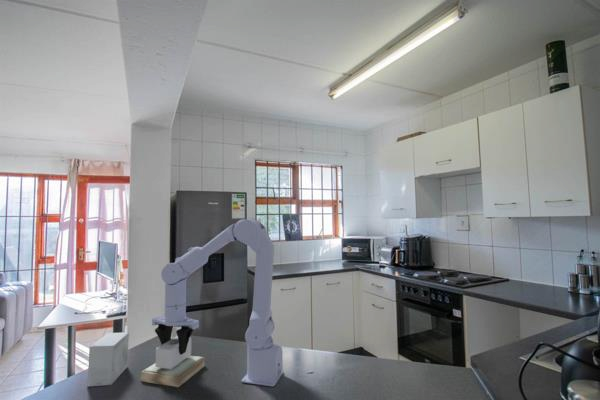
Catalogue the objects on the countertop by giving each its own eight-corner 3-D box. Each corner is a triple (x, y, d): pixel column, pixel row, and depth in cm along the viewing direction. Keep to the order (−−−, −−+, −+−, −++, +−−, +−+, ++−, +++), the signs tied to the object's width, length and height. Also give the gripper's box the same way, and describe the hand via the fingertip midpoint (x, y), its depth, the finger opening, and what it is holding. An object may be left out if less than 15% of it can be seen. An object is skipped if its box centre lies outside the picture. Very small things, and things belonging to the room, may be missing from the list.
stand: (204, 366, 91) (204, 356, 91) (178, 387, 79) (178, 376, 80) (170, 361, 94) (170, 352, 94) (140, 381, 83) (141, 370, 83)
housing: (170, 369, 82) (171, 347, 82) (155, 367, 83) (155, 345, 84) (191, 354, 91) (191, 334, 91) (177, 352, 92) (177, 333, 92)
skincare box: (112, 385, 81) (114, 344, 82) (86, 387, 80) (88, 346, 81) (128, 366, 91) (129, 331, 92) (105, 368, 90) (106, 332, 91)
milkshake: (185, 343, 108) (185, 315, 108) (178, 350, 102) (178, 319, 103) (173, 343, 108) (173, 314, 109) (165, 349, 103) (165, 319, 104)
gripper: (205, 301, 90) (204, 348, 89) (164, 299, 94) (163, 344, 93) (190, 308, 83) (189, 359, 82) (147, 305, 87) (145, 353, 86)
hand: (174, 352), depth 87 cm, fingers closed on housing, 5 cm apart
